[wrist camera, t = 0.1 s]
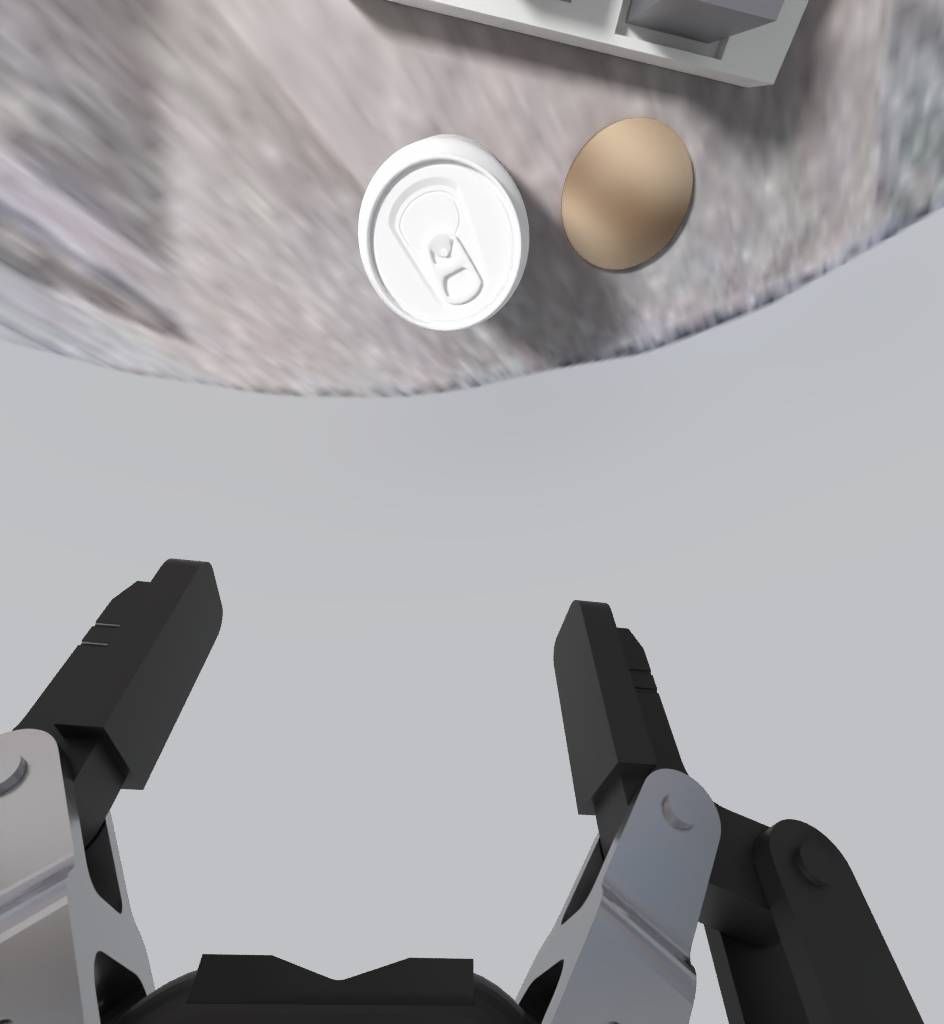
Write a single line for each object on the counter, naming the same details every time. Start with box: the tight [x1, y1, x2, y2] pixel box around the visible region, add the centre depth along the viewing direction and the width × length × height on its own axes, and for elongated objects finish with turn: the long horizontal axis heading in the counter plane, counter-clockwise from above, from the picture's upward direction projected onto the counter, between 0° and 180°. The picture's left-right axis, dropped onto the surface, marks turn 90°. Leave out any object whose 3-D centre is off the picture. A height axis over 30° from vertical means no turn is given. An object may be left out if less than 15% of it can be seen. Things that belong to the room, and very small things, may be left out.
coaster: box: [561, 118, 693, 270], centre depth 31 cm, size 8×8×1 cm
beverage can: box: [358, 134, 529, 332], centre depth 27 cm, size 8×8×12 cm
